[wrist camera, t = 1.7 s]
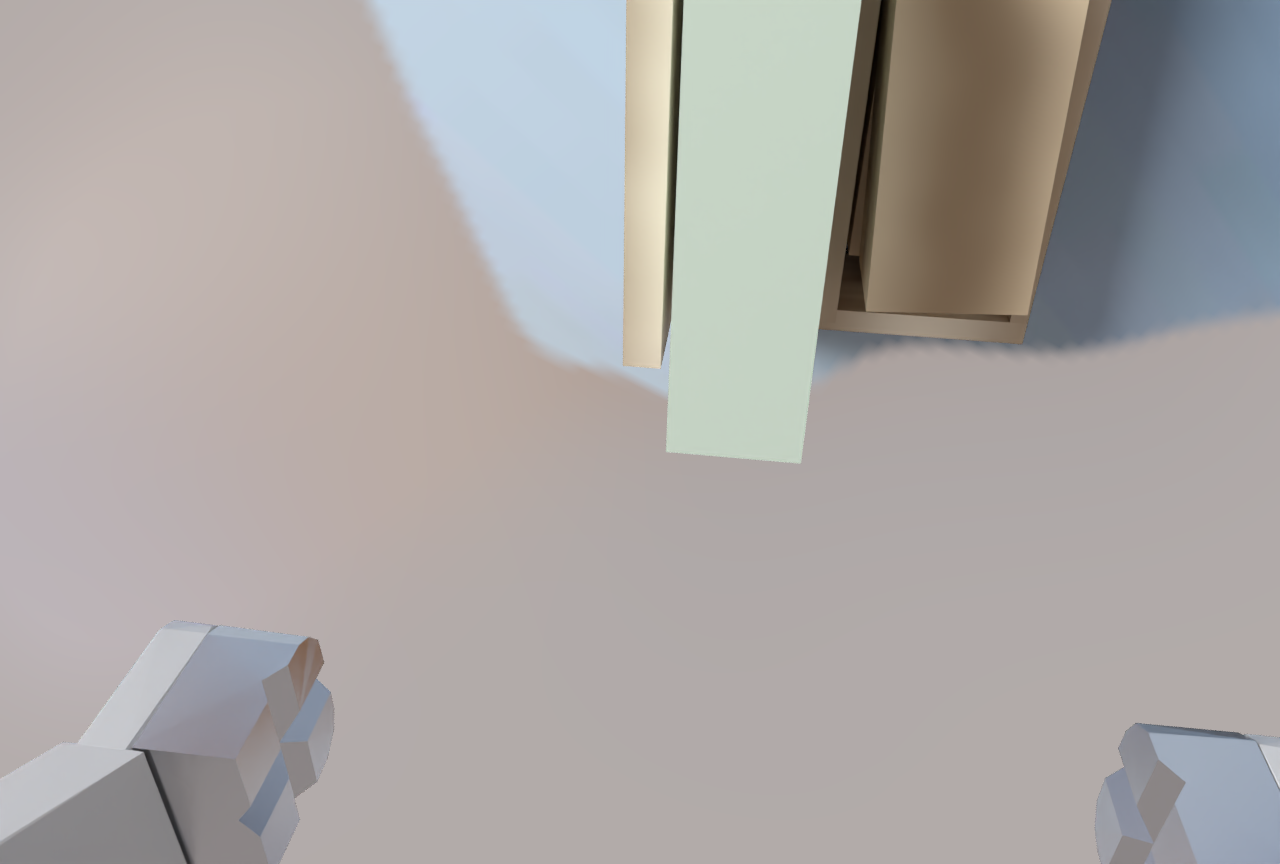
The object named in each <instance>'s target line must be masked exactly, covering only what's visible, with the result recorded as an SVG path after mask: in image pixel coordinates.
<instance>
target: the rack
mask: <svg viewBox="0 0 1280 864" xmlns="http://www.w3.org/2000/svg"><path fill="white" fill-rule="evenodd" d="M1111 1H1112V0H1089V5H1088V10H1087V15H1086V20H1085V25H1084V30H1083V35H1082V40H1081V46H1080V51H1079V56H1078V61H1077V66H1076V71H1075V76H1074V81H1073V86H1072V91H1071V97H1070V102H1069V107H1068V112H1067V117H1066V122H1065V127H1064V132H1063V137H1062V142H1061V147H1060V153H1059V158H1058V163H1057V168H1056V173H1055V178H1054V183H1053V188H1052V193H1051V198H1050V204H1049V209H1048V214H1047V219H1046V224H1045V229H1044V234H1043V239H1042V244H1041V249H1040V255H1039V260H1038V265H1037V270H1036V275H1035V280H1034V285H1033V290H1032V295H1031V300H1030V305H1029V311H1028V315H991V314H949V313H906V312H866V307H865V300H864V292H863V285H862V277H861V270H860V262H859V257H860V256H855V255H849V253H845V251H846V244H847V237H848V230H849V223H850V216H851V209H852V202H853V195H854V188H855V180H856V173H857V166H858V159H859V152H860V145H861V138H862V131H863V124H864V117H865V110H866V102H867V95H868V88H869V81H870V74H871V67H872V60H873V53H874V46H875V39H876V32H877V24H878V17H879V10H880V3H881V0H861V8H860V15H859V23H858V31H857V38H856V46H855V54H854V61H853V69H852V77H851V84H850V92H849V99H848V107H847V115H846V122H845V130H844V138H843V145H842V153H841V160H840V168H839V176H838V183H837V191H836V199H835V206H834V214H833V222H832V229H831V237H830V244H829V252H828V260H827V267H826V275H825V283H824V290H823V298H822V306H821V313H820V321H819V328H818V329H824V330H838V331H851V332H864V333H878V334H891V335H905V336H918V337H932V338H945V339H959V340H972V341H985V342H999V343H1012V344H1022V343H1023V339H1024V335H1025V331H1026V328H1027V324H1028V320H1029V316H1030V312H1031V308H1032V305H1033V301H1034V297H1035V293H1036V289H1037V285H1038V282H1039V278H1040V274H1041V270H1042V266H1043V262H1044V258H1045V255H1046V251H1047V247H1048V243H1049V239H1050V235H1051V232H1052V228H1053V224H1054V220H1055V216H1056V212H1057V209H1058V205H1059V201H1060V197H1061V193H1062V189H1063V185H1064V182H1065V178H1066V174H1067V170H1068V166H1069V162H1070V159H1071V155H1072V151H1073V147H1074V143H1075V139H1076V136H1077V132H1078V128H1079V124H1080V120H1081V116H1082V112H1083V109H1084V105H1085V101H1086V97H1087V93H1088V89H1089V86H1090V82H1091V78H1092V74H1093V70H1094V66H1095V63H1096V59H1097V55H1098V51H1099V47H1100V43H1101V39H1102V36H1103V32H1104V28H1105V24H1106V20H1107V16H1108V13H1109V9H1110V5H1111ZM683 6H684V0H627V3H626V107H625V211H624V315H623V366H633V367H646V368H658V369H661V365H662V360H663V355H664V351H665V346H666V342H667V337H668V332H669V328H670V323H671V312H672V287H673V261H674V236H675V210H676V184H677V159H678V133H679V108H680V82H681V57H682V31H683Z"/></svg>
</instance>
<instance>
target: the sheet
mask: <svg viewBox="0 0 1280 864" xmlns="http://www.w3.org/2000/svg"><path fill="white" fill-rule="evenodd" d="M860 8H861V0H684V6H683V31H682V57H681V82H680V108H679V133H678V159H677V184H676V210H675V236H674V261H673V287H672V312H671V338H670V363H669V389H668V416H667V440H666V452H674V453H685V454H696V455H709V456H719V457H731V458H743V459H754V460H766V461H777V462H789V463H801V458H802V450H803V443H804V434H805V428H806V420H807V412H808V405H809V397H810V389H811V382H812V374H813V367H814V359H815V351H816V344H817V336H818V328H819V321H820V313H821V306H822V298H823V290H824V283H825V275H826V267H827V260H828V252H829V244H830V237H831V229H832V222H833V214H834V206H835V199H836V191H837V183H838V176H839V168H840V160H841V153H842V145H843V138H844V130H845V122H846V115H847V107H848V99H849V92H850V84H851V77H852V69H853V61H854V54H855V46H856V38H857V31H858V23H859V15H860Z"/></svg>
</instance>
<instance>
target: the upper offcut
mask: <svg viewBox="0 0 1280 864" xmlns="http://www.w3.org/2000/svg"><path fill="white" fill-rule="evenodd" d="M1088 5H1089V0H883V3H882V14H881V26H880V37H879V48H878V59H877V70H876V81H875V92H874V103H873V114H872V125H871V136H870V147H869V158H868V169H867V180H866V191H865V202H864V213H863V224H862V235H861V246H860V257H859V262H860V270H861V277H862V285H863V292H864V300H865V307H866V312H906V313H949V314H991V315H1028V311H1029V305H1030V300H1031V295H1032V290H1033V285H1034V280H1035V275H1036V270H1037V265H1038V260H1039V255H1040V249H1041V244H1042V239H1043V234H1044V229H1045V224H1046V219H1047V214H1048V209H1049V204H1050V198H1051V193H1052V188H1053V183H1054V178H1055V173H1056V168H1057V163H1058V158H1059V153H1060V147H1061V142H1062V137H1063V132H1064V127H1065V122H1066V117H1067V112H1068V107H1069V102H1070V97H1071V91H1072V86H1073V81H1074V76H1075V71H1076V66H1077V61H1078V56H1079V51H1080V46H1081V40H1082V35H1083V30H1084V25H1085V20H1086V15H1087V10H1088Z"/></svg>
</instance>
